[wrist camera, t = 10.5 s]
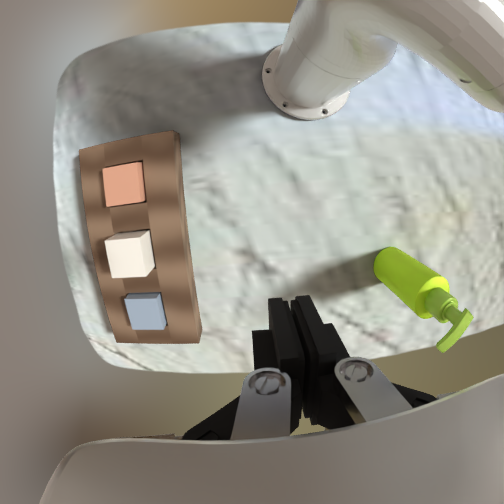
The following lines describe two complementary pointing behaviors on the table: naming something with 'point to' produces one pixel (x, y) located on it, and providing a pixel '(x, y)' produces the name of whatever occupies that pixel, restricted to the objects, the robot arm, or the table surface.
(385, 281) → the soap dispenser
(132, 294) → the slate key
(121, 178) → the terracotta key
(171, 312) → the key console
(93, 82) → the table surface
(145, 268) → the ivory key
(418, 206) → the table surface
